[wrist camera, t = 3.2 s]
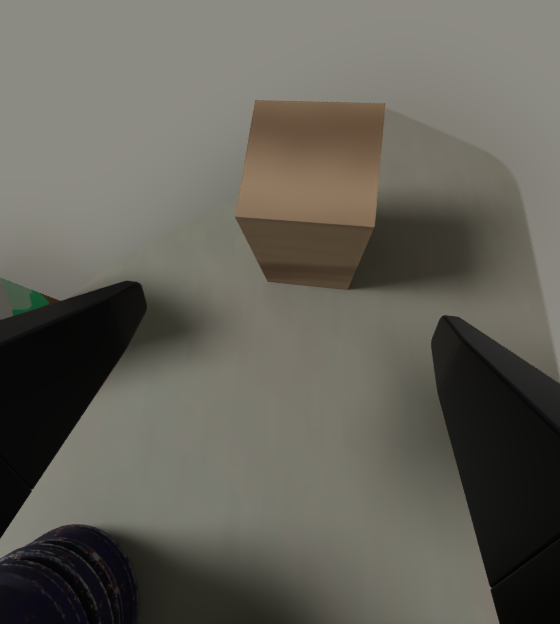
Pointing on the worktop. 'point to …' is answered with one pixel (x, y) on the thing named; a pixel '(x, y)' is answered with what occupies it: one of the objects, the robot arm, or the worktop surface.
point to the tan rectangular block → (311, 189)
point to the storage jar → (68, 580)
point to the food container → (20, 299)
